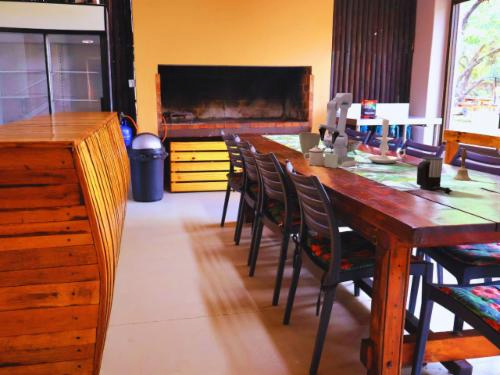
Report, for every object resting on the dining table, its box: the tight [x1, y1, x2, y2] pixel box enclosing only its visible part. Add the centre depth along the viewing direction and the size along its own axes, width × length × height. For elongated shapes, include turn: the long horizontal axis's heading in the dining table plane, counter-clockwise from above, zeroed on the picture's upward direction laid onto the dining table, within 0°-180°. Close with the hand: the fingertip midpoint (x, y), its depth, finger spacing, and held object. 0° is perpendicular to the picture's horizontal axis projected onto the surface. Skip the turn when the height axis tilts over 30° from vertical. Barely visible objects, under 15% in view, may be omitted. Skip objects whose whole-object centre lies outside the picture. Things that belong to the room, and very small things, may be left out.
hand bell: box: [452, 148, 472, 182], centre depth 236 cm, size 8×8×16 cm
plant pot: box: [298, 132, 321, 159], centre depth 313 cm, size 15×15×16 cm
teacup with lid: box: [303, 146, 325, 167], centre depth 281 cm, size 12×9×12 cm
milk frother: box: [416, 155, 453, 194], centre depth 209 cm, size 14×16×15 cm
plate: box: [324, 152, 338, 169], centre depth 273 cm, size 2×8×8 cm, turn 44°
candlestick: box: [366, 118, 407, 164], centre depth 289 cm, size 21×25×28 cm
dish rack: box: [337, 155, 358, 168], centre depth 282 cm, size 14×12×4 cm
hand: (327, 142), depth 274 cm, fingers open, 7 cm apart
